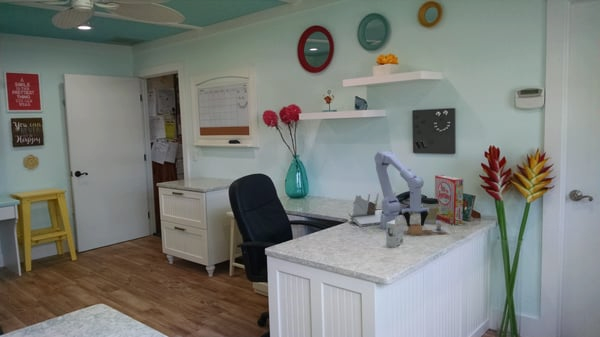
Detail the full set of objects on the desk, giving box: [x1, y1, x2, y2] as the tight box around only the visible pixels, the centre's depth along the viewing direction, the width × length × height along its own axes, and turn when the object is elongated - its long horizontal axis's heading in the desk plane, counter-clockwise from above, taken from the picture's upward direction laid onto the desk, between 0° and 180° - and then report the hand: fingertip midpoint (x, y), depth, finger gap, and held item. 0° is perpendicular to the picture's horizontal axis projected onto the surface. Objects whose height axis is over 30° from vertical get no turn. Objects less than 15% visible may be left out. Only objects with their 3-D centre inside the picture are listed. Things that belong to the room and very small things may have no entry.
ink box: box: [385, 214, 404, 248], centre depth 218 cm, size 9×5×15 cm, turn 141°
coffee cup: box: [421, 197, 439, 225], centre depth 261 cm, size 10×10×15 cm
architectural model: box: [348, 184, 400, 228], centre depth 269 cm, size 20×29×21 cm
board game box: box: [434, 174, 464, 226], centre depth 268 cm, size 20×6×27 cm, turn 16°
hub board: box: [404, 223, 451, 237], centre depth 238 cm, size 21×12×6 cm, turn 97°
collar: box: [407, 223, 423, 235], centre depth 237 cm, size 6×6×4 cm
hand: (415, 225), depth 237 cm, fingers open, 7 cm apart
